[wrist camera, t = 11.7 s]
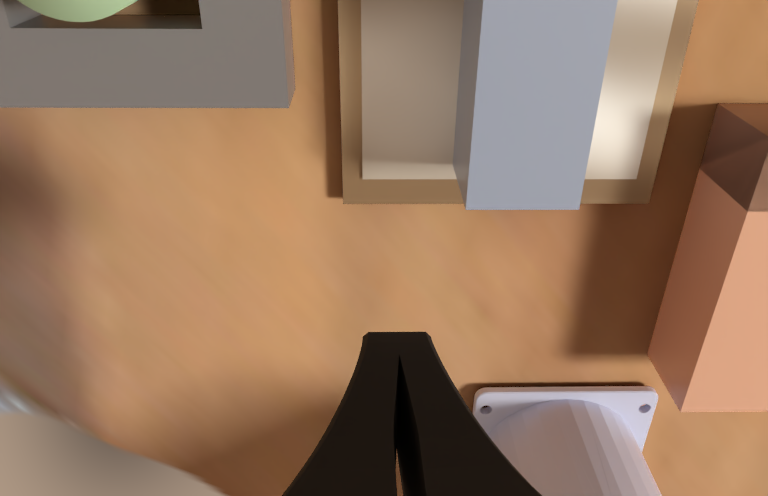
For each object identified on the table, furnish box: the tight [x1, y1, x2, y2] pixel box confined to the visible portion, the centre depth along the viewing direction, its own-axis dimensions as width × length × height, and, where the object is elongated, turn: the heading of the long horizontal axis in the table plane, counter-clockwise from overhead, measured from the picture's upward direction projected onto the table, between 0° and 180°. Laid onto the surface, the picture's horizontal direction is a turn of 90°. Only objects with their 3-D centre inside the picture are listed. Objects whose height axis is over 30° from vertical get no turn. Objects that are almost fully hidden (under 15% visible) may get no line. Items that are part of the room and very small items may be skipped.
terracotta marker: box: [647, 103, 768, 412], centre depth 23 cm, size 11×3×3 cm, turn 0°
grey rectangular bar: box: [453, 0, 618, 210], centre depth 18 cm, size 11×3×3 cm, turn 179°
